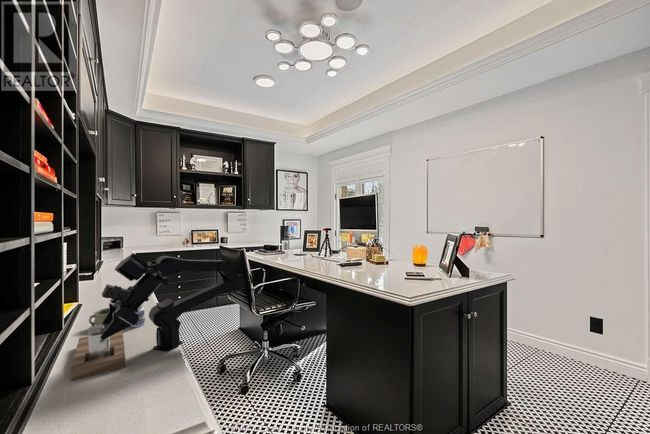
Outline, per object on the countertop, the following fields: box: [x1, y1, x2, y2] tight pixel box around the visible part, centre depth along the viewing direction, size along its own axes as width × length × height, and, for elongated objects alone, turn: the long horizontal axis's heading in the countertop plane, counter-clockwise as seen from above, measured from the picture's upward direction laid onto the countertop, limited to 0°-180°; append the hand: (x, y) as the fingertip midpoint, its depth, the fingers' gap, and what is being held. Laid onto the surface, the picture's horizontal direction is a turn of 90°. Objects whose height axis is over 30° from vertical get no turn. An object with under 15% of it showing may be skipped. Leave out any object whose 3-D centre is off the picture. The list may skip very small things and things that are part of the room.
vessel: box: [88, 307, 109, 327], centre depth 122 cm, size 12×9×6 cm
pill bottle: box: [130, 304, 146, 328], centre depth 122 cm, size 5×5×8 cm
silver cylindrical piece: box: [87, 324, 110, 361], centre depth 90 cm, size 5×5×11 cm
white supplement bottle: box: [143, 301, 148, 320], centre depth 130 cm, size 4×5×10 cm
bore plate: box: [70, 330, 126, 381], centre depth 96 cm, size 26×12×3 cm, turn 35°
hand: (100, 334), depth 91 cm, fingers open, 9 cm apart
